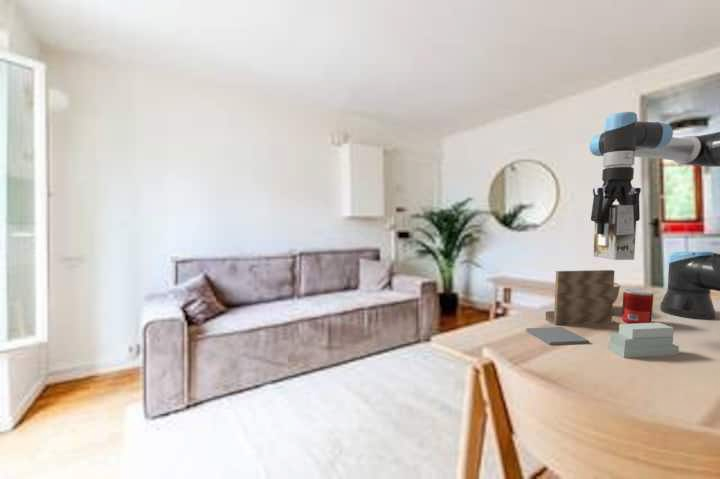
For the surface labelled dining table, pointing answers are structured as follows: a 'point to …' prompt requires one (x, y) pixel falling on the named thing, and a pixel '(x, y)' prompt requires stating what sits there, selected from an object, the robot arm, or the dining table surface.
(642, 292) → the canned food
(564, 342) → the mat
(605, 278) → the upright wooden block
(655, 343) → the offcut stack
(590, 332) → the dining table surface
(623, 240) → the coffee box
